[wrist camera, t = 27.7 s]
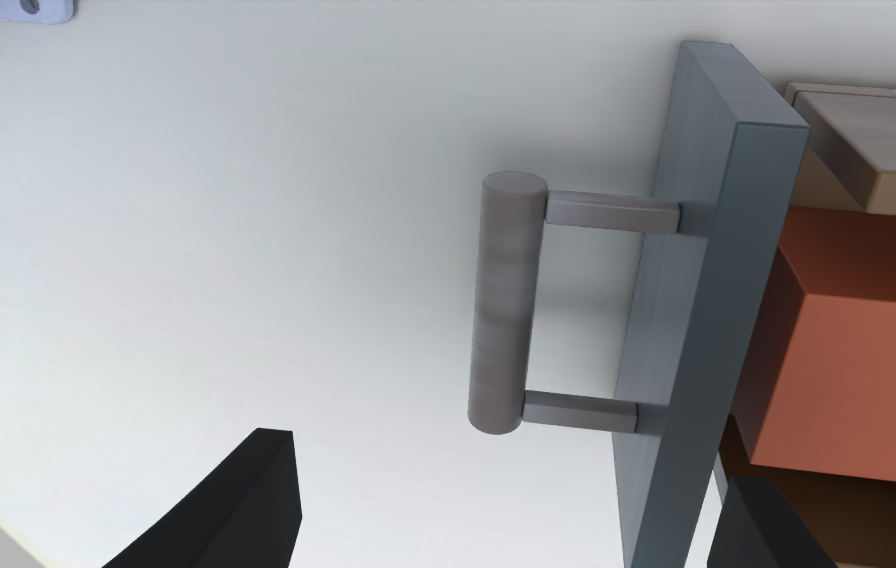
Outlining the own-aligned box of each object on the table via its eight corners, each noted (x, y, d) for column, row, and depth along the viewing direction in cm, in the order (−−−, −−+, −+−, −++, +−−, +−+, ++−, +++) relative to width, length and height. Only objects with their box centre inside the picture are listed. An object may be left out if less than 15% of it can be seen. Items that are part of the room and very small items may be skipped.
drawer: (475, 402, 23) (450, 565, 18) (502, 28, 18) (477, 102, 12) (1073, 469, 22) (1244, 670, 16) (1314, 81, 16) (1697, 193, 11)
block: (882, 369, 20) (959, 490, 16) (713, 351, 20) (749, 465, 16) (944, 219, 18) (1051, 317, 14) (753, 202, 18) (805, 293, 14)
